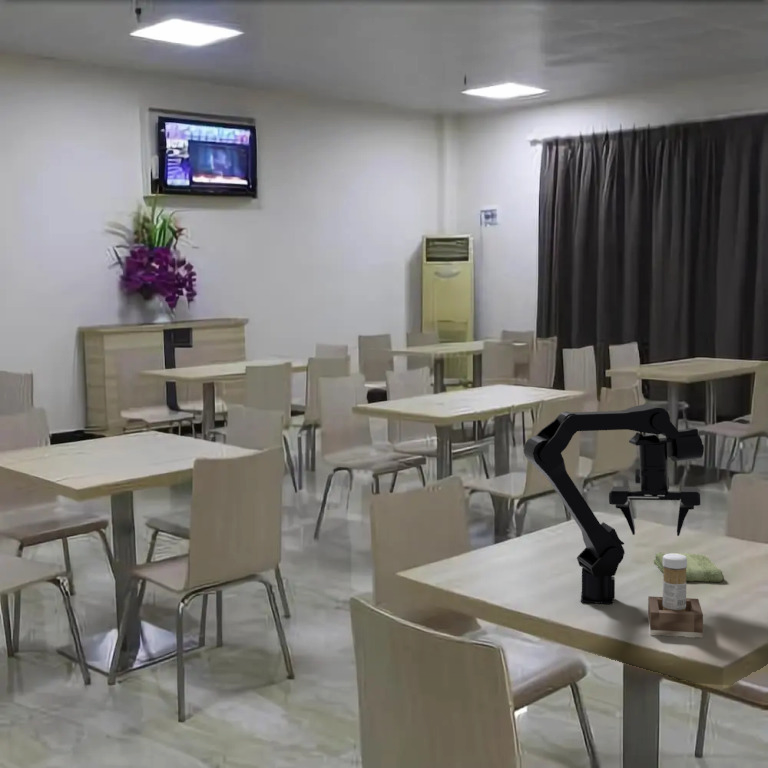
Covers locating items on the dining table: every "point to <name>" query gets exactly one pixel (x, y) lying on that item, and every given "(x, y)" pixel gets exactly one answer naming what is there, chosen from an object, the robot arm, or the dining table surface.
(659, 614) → the socket block
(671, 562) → the sprinkles bottle
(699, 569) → the washcloth
